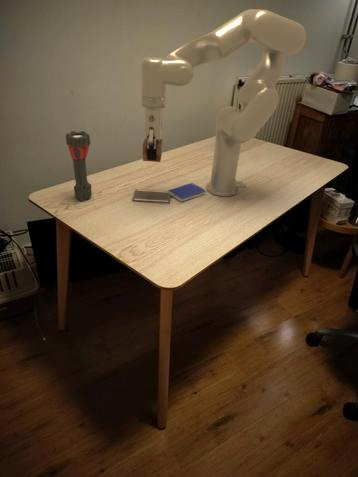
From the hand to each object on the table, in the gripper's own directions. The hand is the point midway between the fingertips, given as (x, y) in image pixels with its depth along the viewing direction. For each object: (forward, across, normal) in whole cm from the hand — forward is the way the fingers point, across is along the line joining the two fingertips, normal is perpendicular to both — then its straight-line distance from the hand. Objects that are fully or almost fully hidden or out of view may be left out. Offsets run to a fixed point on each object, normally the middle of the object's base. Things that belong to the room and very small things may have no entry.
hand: (152, 155), depth 115 cm
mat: (+16, 0, 0) cm, 16 cm away
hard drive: (+16, +4, -13) cm, 21 cm away
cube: (+1, 0, 0) cm, 1 cm away
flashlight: (+16, -2, +25) cm, 30 cm away
